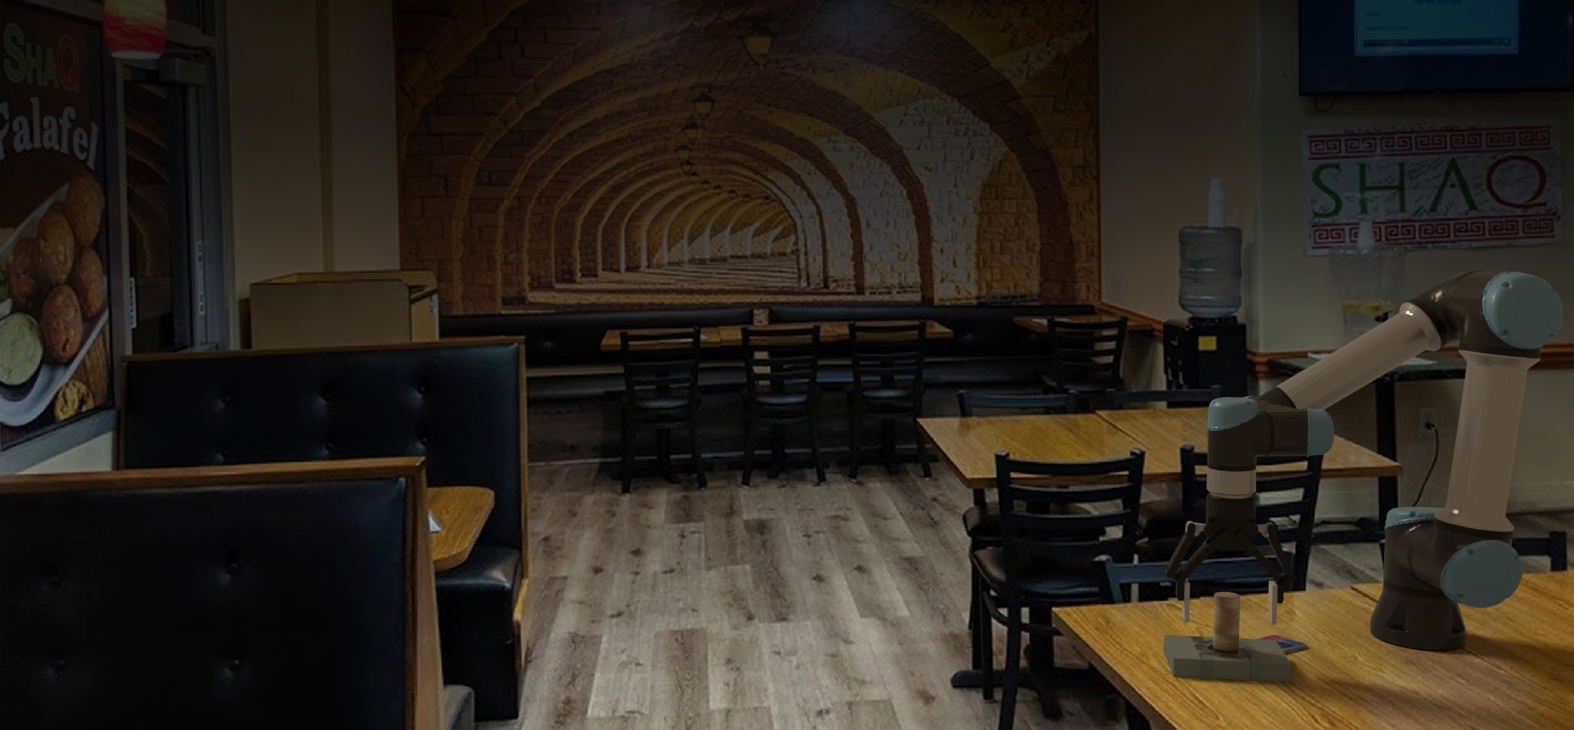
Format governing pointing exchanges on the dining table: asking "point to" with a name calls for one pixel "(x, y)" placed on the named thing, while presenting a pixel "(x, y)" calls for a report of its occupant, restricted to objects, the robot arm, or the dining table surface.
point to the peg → (1226, 623)
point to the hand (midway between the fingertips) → (1228, 621)
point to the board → (1226, 659)
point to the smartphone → (1286, 643)
